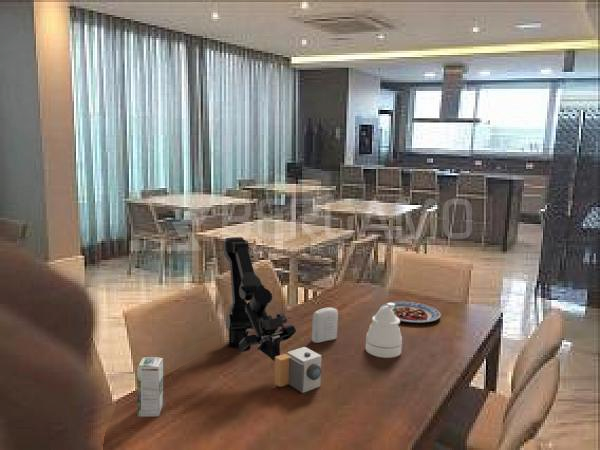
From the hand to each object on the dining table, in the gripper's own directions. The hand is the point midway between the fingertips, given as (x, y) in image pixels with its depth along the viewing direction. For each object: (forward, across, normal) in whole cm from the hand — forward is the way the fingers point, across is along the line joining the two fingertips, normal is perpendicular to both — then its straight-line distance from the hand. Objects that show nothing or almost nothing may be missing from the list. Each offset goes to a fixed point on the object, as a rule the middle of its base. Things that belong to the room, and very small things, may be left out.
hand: (279, 363), depth 153 cm
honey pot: (+6, +46, +4) cm, 47 cm away
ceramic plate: (-7, +84, +17) cm, 86 cm away
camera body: (+8, +6, +2) cm, 10 cm away
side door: (+8, 0, +1) cm, 8 cm away
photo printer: (-8, +35, +17) cm, 40 cm away
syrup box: (0, -38, +10) cm, 39 cm away
